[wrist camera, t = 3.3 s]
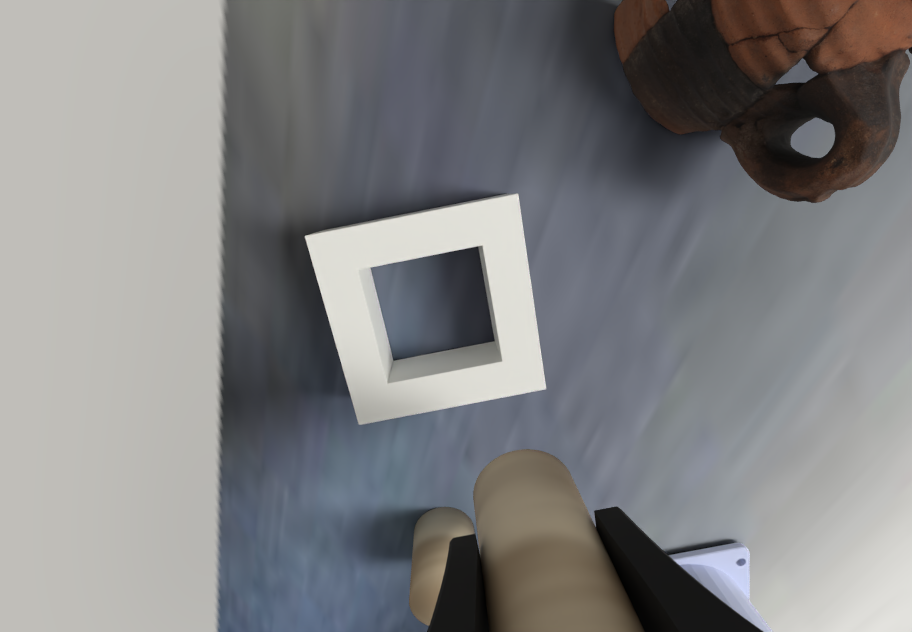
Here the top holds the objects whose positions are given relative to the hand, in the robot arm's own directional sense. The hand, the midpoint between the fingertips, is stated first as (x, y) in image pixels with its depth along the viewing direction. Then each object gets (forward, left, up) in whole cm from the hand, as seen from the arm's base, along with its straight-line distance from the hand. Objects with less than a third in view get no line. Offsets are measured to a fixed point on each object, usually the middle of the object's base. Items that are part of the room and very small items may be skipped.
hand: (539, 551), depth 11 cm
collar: (+5, +2, -10) cm, 11 cm away
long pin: (0, 0, -2) cm, 2 cm away
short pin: (-8, +4, -10) cm, 13 cm away
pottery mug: (+13, -12, -10) cm, 20 cm away
